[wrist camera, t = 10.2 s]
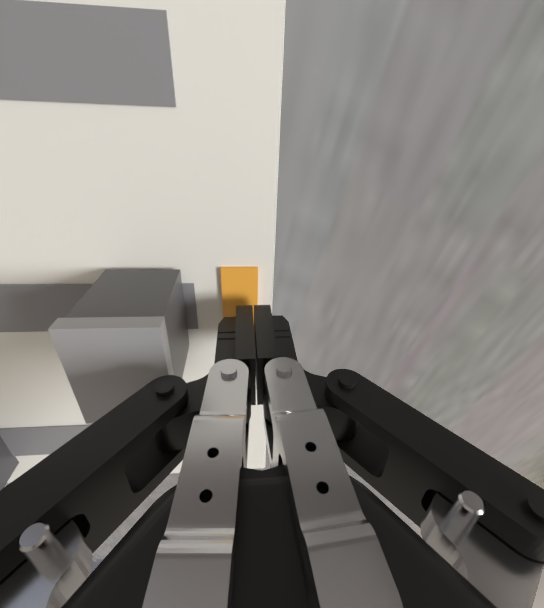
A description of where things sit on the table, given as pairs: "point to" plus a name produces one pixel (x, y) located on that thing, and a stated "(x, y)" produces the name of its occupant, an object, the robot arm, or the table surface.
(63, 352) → the block
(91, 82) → the breaker panel
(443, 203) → the table surface
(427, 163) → the table surface
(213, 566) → the robot arm
